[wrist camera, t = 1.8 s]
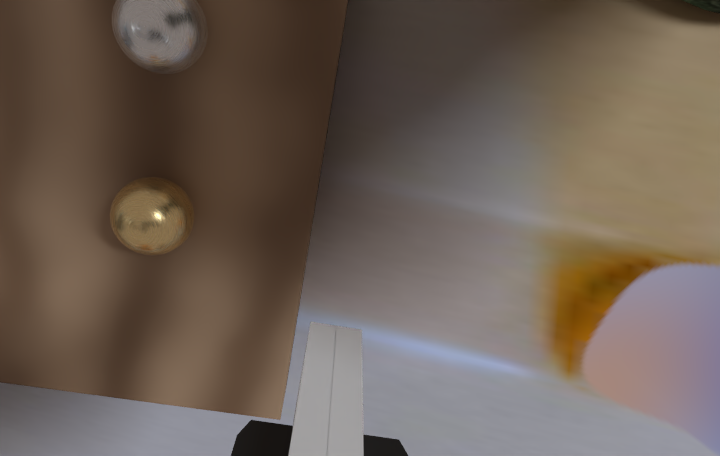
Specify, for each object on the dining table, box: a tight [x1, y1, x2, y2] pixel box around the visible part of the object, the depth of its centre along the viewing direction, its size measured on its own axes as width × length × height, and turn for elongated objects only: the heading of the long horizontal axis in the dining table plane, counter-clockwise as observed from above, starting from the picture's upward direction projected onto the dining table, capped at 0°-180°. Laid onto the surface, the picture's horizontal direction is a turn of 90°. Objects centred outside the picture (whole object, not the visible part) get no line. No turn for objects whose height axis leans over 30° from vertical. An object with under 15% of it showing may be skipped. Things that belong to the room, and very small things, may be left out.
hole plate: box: [0, 0, 348, 420], centre depth 25 cm, size 26×24×2 cm
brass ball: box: [110, 177, 194, 255], centre depth 23 cm, size 4×4×4 cm
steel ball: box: [112, 0, 208, 74], centre depth 20 cm, size 4×4×4 cm
